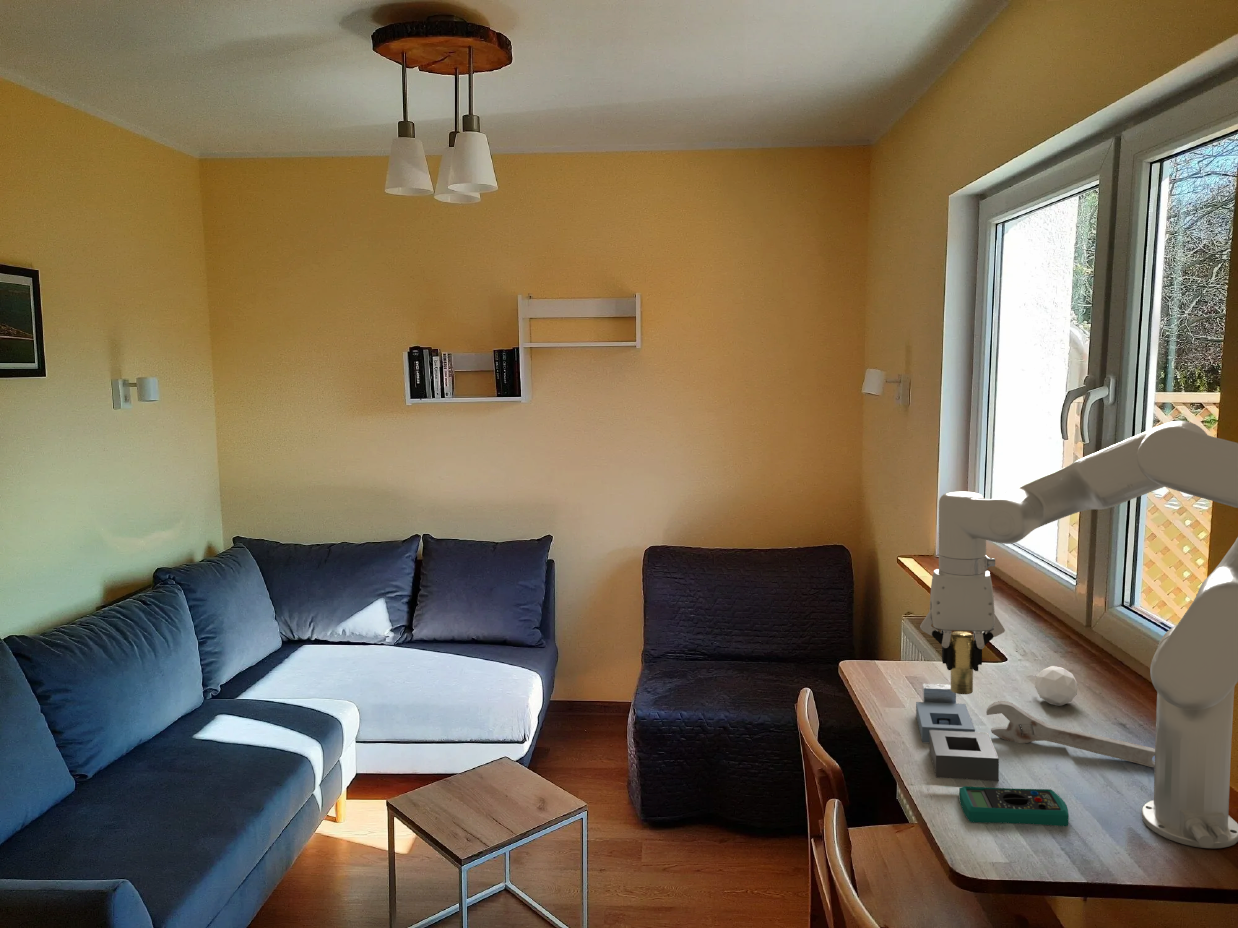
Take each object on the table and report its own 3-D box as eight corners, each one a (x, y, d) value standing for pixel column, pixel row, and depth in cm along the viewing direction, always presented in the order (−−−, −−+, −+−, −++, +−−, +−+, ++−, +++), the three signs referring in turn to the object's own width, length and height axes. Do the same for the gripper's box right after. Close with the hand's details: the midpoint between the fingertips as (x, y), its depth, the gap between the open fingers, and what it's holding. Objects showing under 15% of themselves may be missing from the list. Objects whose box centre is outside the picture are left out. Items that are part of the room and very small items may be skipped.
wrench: (1166, 785, 151) (982, 739, 164) (1165, 780, 152) (983, 735, 165) (1174, 743, 149) (987, 700, 162) (1172, 738, 151) (988, 696, 164)
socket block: (974, 749, 161) (974, 729, 161) (922, 747, 163) (922, 726, 163) (965, 723, 172) (965, 703, 172) (916, 720, 174) (916, 701, 174)
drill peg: (974, 694, 150) (974, 638, 148) (952, 693, 151) (952, 637, 149) (971, 686, 153) (971, 631, 152) (949, 685, 154) (949, 631, 153)
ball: (1045, 716, 179) (1020, 684, 181) (1064, 693, 184) (1038, 662, 185) (1074, 710, 173) (1047, 677, 174) (1093, 686, 177) (1066, 654, 178)
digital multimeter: (1073, 829, 135) (1073, 811, 134) (967, 825, 137) (967, 807, 137) (1057, 804, 142) (1057, 786, 142) (957, 800, 145) (957, 783, 144)
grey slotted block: (998, 786, 148) (998, 758, 147) (936, 782, 150) (935, 754, 149) (988, 758, 157) (988, 732, 157) (929, 755, 160) (929, 729, 159)
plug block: (960, 732, 167) (960, 702, 167) (927, 730, 169) (927, 700, 168) (954, 713, 176) (954, 684, 175) (922, 711, 177) (922, 683, 176)
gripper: (1010, 559, 151) (1008, 661, 153) (909, 558, 154) (909, 658, 157) (1019, 570, 143) (1017, 678, 146) (913, 569, 147) (913, 674, 150)
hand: (961, 666), depth 151 cm, fingers closed on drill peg, 3 cm apart
